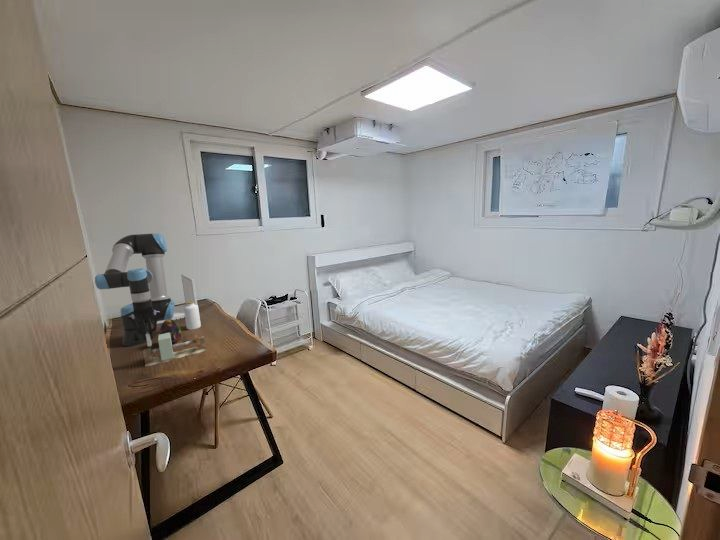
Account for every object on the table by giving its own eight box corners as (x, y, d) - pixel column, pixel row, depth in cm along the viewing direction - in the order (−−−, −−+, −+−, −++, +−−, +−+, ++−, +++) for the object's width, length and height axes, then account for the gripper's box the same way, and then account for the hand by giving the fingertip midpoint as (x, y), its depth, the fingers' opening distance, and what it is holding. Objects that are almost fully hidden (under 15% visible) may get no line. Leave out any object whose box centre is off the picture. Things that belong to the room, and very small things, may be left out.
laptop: (148, 313, 228) (142, 279, 223) (188, 305, 247) (183, 273, 242) (155, 324, 203) (148, 285, 198) (199, 314, 222) (194, 279, 217)
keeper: (161, 360, 146) (158, 340, 144) (162, 354, 153) (158, 334, 151) (173, 357, 149) (170, 337, 147) (173, 351, 156) (169, 332, 154)
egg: (185, 343, 169) (181, 318, 166) (163, 349, 161) (159, 324, 159) (180, 338, 176) (176, 314, 174) (159, 344, 169) (155, 319, 166)
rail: (145, 366, 142) (142, 351, 141) (146, 359, 150) (143, 344, 148) (206, 351, 157) (204, 337, 155) (204, 345, 164) (202, 332, 163)
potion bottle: (183, 329, 191) (179, 303, 187) (195, 325, 198) (191, 299, 195) (192, 331, 187) (188, 304, 184) (203, 326, 195) (200, 300, 192)
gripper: (123, 304, 135) (132, 351, 139) (157, 299, 142) (165, 344, 146) (125, 301, 141) (134, 346, 146) (158, 296, 148) (165, 339, 153)
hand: (149, 345), depth 146 cm, fingers closed
